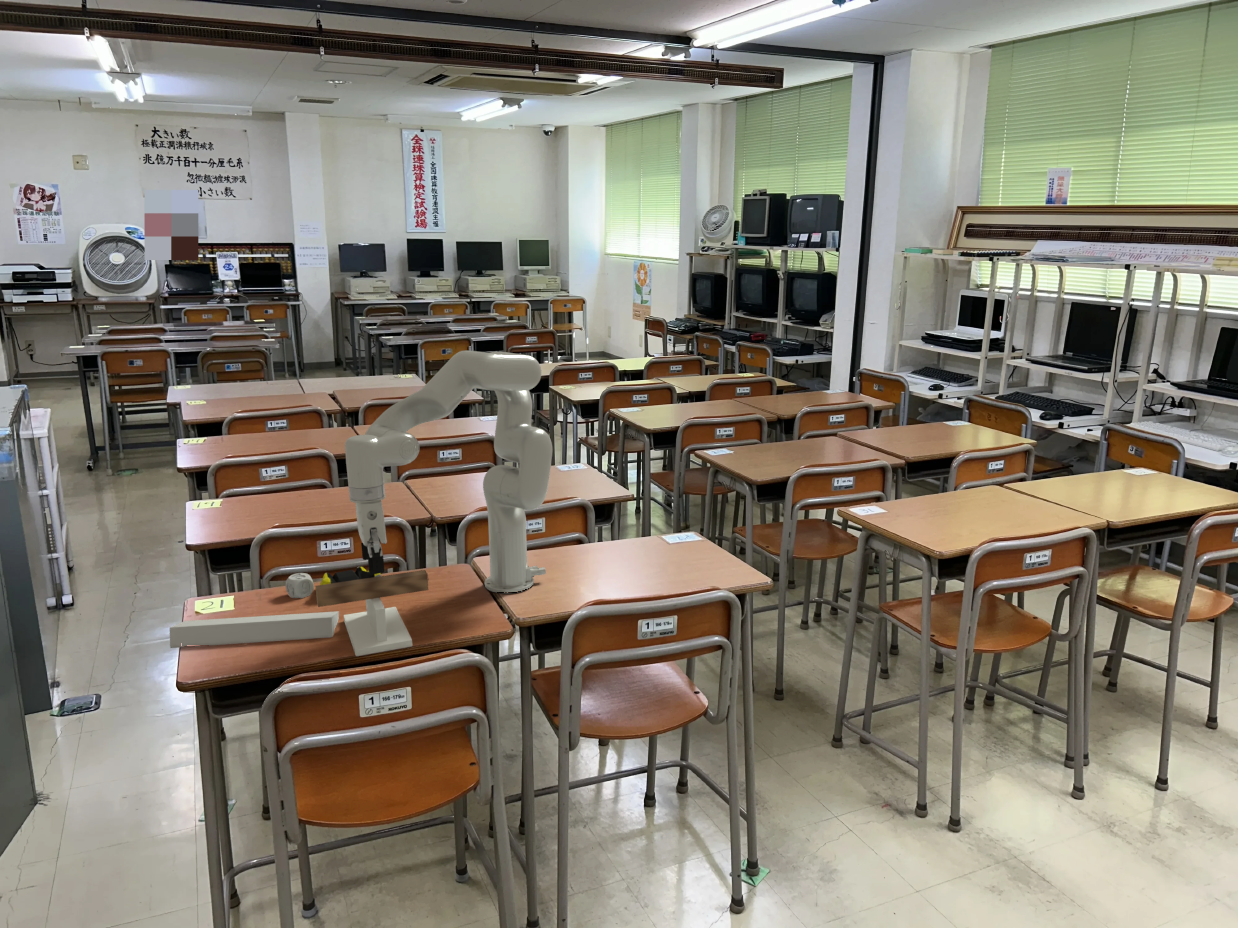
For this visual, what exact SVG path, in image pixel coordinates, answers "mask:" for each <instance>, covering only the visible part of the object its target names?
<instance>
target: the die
mask: <svg viewBox="0 0 1238 928" xmlns="http://www.w3.org/2000/svg"><path fill="white" fill-rule="evenodd" d="M314 588H315V586H314V581H313V578H312V577H311V574H308V573H304V572H298V573H293V574H291V575H290V576H288V578H287V579H286V580H285V591H286V592H287V595H288V596H289V598H292V599H294V598H300V599H305V598H308V597H309V596H310V595H312V593H313V591H314ZM307 596H308V597H307ZM304 597H305V598H304Z"/></svg>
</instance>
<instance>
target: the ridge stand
mask: <svg viewBox="0 0 1238 928" xmlns="http://www.w3.org/2000/svg"><path fill="white" fill-rule="evenodd" d="M365 607H366V611H361V612H355V613H354V612H353V613H348V614H343V622H344V625H345V628H346V631H347V633H348V637H349V639H350V643H351V645H352V649H353V653H354V654H355V657H359V656H367V655H371V654H377V653H382V652H388V651H389V652H390V651H393V650H399V649H405V648H410V647H413V639H412V637H411V635H410V633H409V631H408V629H407V627H406V625H405V623H404V621H403V619H402V617H401V615H400V613H399V610H398V609H397V607H396V606H392V607H386V608H385V605H384V603H383V601H382V599H381V598H374V599H368V600H365Z"/></svg>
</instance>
